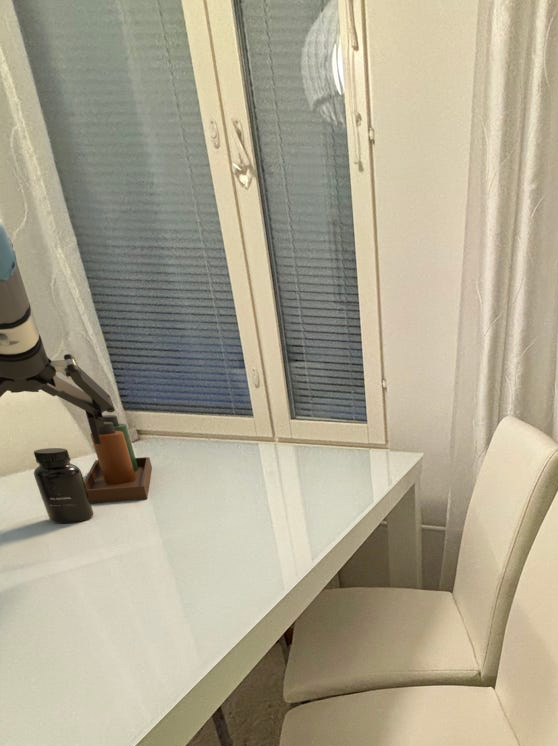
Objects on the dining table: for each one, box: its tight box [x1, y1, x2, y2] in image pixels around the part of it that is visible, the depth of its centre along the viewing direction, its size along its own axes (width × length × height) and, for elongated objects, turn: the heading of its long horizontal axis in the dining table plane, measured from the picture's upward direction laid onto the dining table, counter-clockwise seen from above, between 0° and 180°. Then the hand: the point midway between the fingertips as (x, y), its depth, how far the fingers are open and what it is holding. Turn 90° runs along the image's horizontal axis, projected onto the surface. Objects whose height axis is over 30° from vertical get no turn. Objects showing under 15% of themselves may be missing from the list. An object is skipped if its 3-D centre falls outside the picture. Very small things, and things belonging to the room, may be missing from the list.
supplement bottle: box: [33, 447, 95, 524], centre depth 97 cm, size 7×7×12 cm
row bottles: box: [89, 414, 138, 484], centre depth 122 cm, size 6×16×12 cm, turn 26°
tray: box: [83, 456, 153, 504], centre depth 120 cm, size 11×29×3 cm, turn 26°
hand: (44, 440), depth 85 cm, fingers open, 13 cm apart
